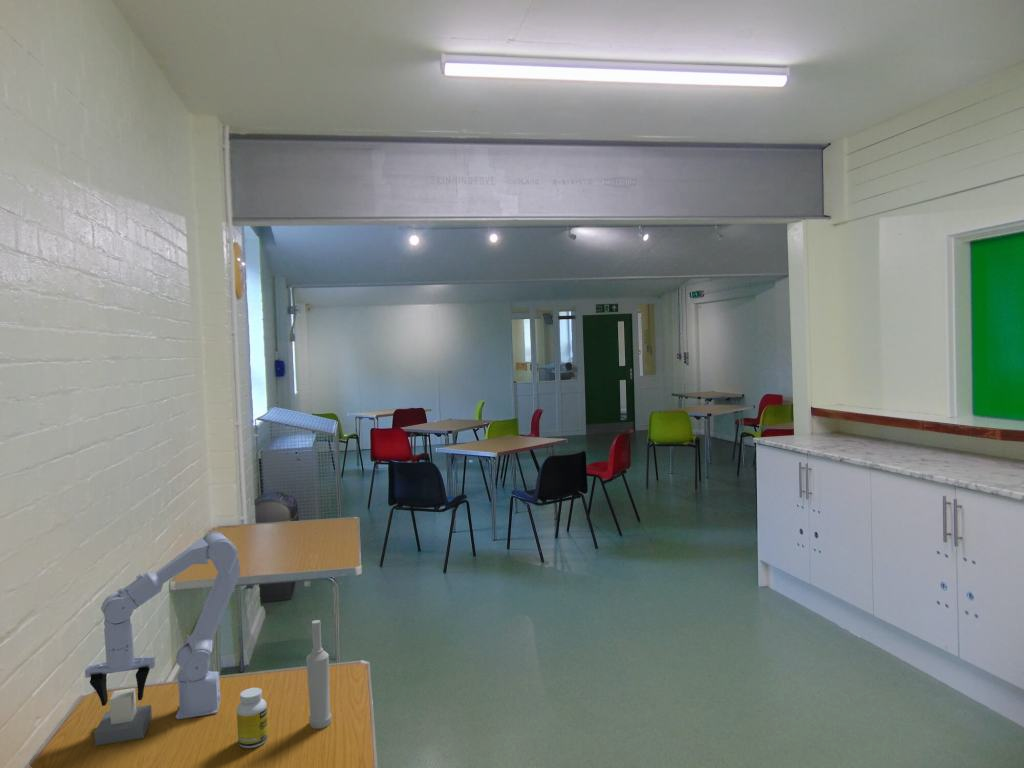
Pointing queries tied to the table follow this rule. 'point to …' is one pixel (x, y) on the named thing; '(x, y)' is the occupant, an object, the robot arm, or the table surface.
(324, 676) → the bottle
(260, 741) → the pill bottle
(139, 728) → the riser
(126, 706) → the cream block
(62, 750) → the table surface
